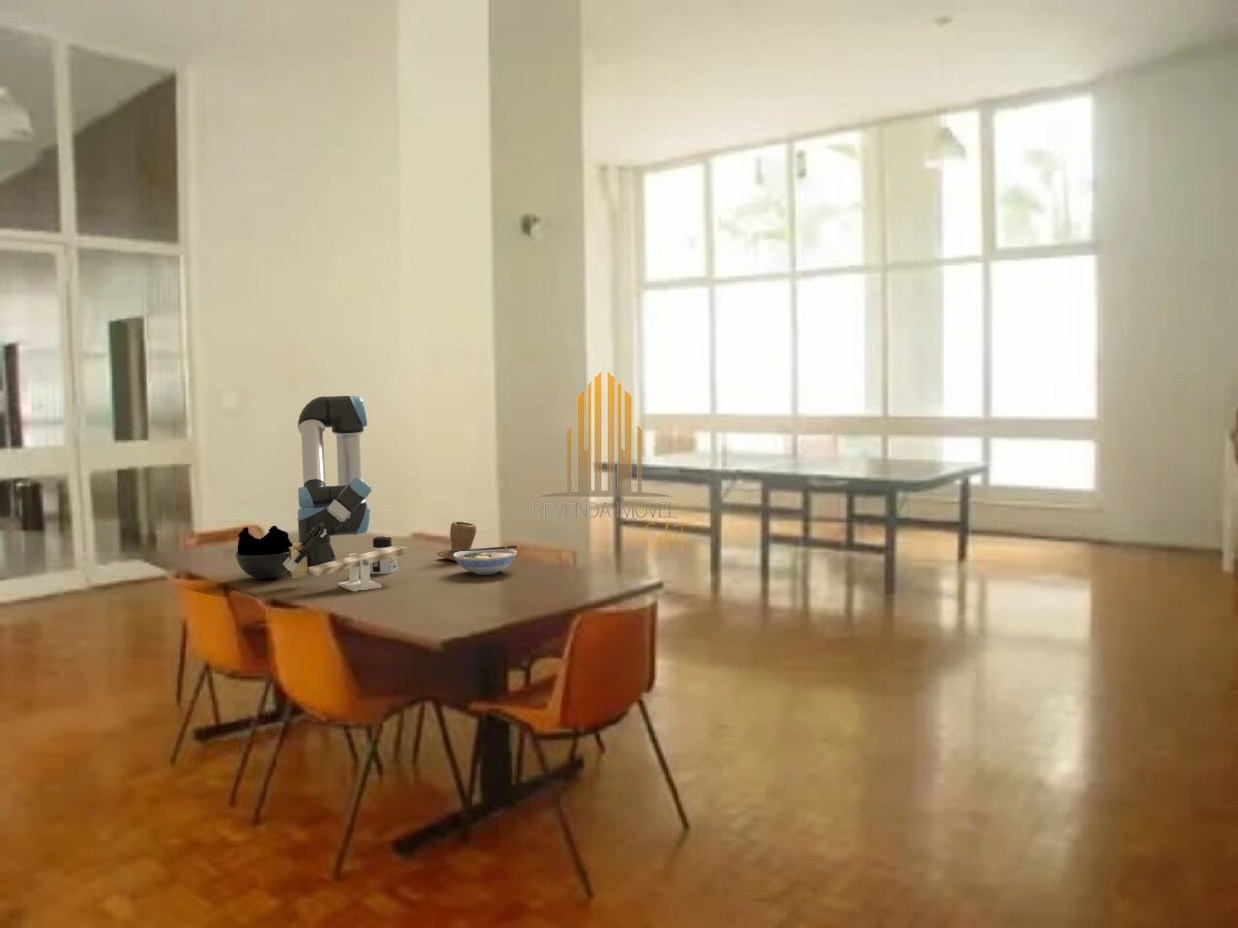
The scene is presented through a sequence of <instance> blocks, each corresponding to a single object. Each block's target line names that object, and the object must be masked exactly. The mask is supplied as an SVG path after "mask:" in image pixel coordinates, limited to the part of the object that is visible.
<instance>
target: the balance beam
mask: <svg viewBox="0 0 1238 928" xmlns="http://www.w3.org/2000/svg"><path fill="white" fill-rule="evenodd" d="M403 555H408V548H407V547H404V546H401V545H398V544H397V545H393V546H392V547H388V548H384V549H380V550H376V551H374V550H372V551H369V552H365V553H361V554H358V555H356V556H352V557H345V558H341V559H336V561H332V562H328V563H324V564H320V565H316V566H312V567H307V570H308V573H309V574H310V575H313V576H315V577H322V576H325V575H330V574H333V573H338V572H342V571H345V570H349V568H353V567H357V566H358V567H360V558H365V557H369V562H370V563H373V562H377V561H380V560H384V559H388V558H392V557H396V556H397V557H399V556H403Z"/></svg>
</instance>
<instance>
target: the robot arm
mask: <svg viewBox="0 0 1238 928" xmlns="http://www.w3.org/2000/svg"><path fill="white" fill-rule="evenodd" d="M364 427H368V419H367V413H366V407H365V402H364V400H363V397H361V396H358V395H357V396H356V395H335V396H325V395H323V396H318V397H315V398H313V399H311V400H310V401H309V402H308V403H307V404H305V406H304V407H303V408H302V410H301V412H300V414H299V416H298V422H297V430H298V432H299V434H301V435H300V436H301V438H300V439H301V454H302V455H301V456H302V458H301V459H302V478H303V479H302V480H303V486H302V487H298V490H297V493H298V494H297V495H298V507H299V508H298V510H297V519H296V521H297V525H298V526H297V528H298V542H301V543H302V546H304V548H303V549H302V550H301V551H300V550H298V553H297V554H296V555H295V556H294V558H293V559H292V560H291V561H290V562H289V557H288V558H287V560H286V561H285V562H284V563H283V565H284V566H285V567H286V568H287V569H288V570H287V571H289V572H290V571H291V572H292V571H293V570H294V569H295V568H296V567H297V566H298V565H299V564H300V562H301V561H302V560H303V559H304V558H305V557H307V568H308V567H312V566H316V565H320V564H324V563H328V562H332V561H336V560H337V557H336V554H335V551H334V548H333V546H332V543H331V536H333V537H334V536H336V537H337V536H348V535H349V536H351V535H352V536H353V535H354V536H356V535H361V534H365V533H367V532H368V530H369V525H370V524H369V523H370V516H371V515H370V513H371V505H370V504H369V503H367V501H366V498H368V496H369V495H370V493H371V492H372V491H373V490H372V487H371V486H370V485H369V484H368V483H367V482H366V481H364V480H363V479H362V470H361V440H360V439H361V435H362V434H363V432H364ZM326 428H331V432H332V433H333V434H334V435H335V437H336V457H337V458H336V459H337V485H326V484H327V481H326V468H325V467H326V466H325V448H324V432H325V431H326ZM300 553H301V554H300Z"/></svg>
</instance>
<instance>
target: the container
mask: <svg viewBox="0 0 1238 928" xmlns="http://www.w3.org/2000/svg"><path fill="white" fill-rule="evenodd" d="M388 547H392V538H391V536H387V535H381V536H376V537H373V538H372V548H373V551H376V550H380V549H384V548H388ZM397 571H398V556H396V557H392V558H388V559H384V560H380V561H377V562H373V563H370V575H375V574H376V575H390V574H392V573H394V572H397ZM391 572H392V573H391ZM389 573H390V574H389Z"/></svg>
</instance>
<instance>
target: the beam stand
mask: <svg viewBox="0 0 1238 928" xmlns="http://www.w3.org/2000/svg"><path fill="white" fill-rule="evenodd" d="M356 555H359V553H350V554H347V556H348V557H352V556H356ZM348 557H347V558H348ZM348 577H349V578H348V581H342V582H338V586H339V587H341V588H343V589H346V590H349V591H350V590H351V591H350V592H353V591H354V592H358V590H361V591H365V590H366V591H367V590H373V589H380V588H382V584H381V583H379V582H377V581H373V580H371V574H370V562H369V557H365V558H360V566H357V567H353V568H349V569H348Z"/></svg>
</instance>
